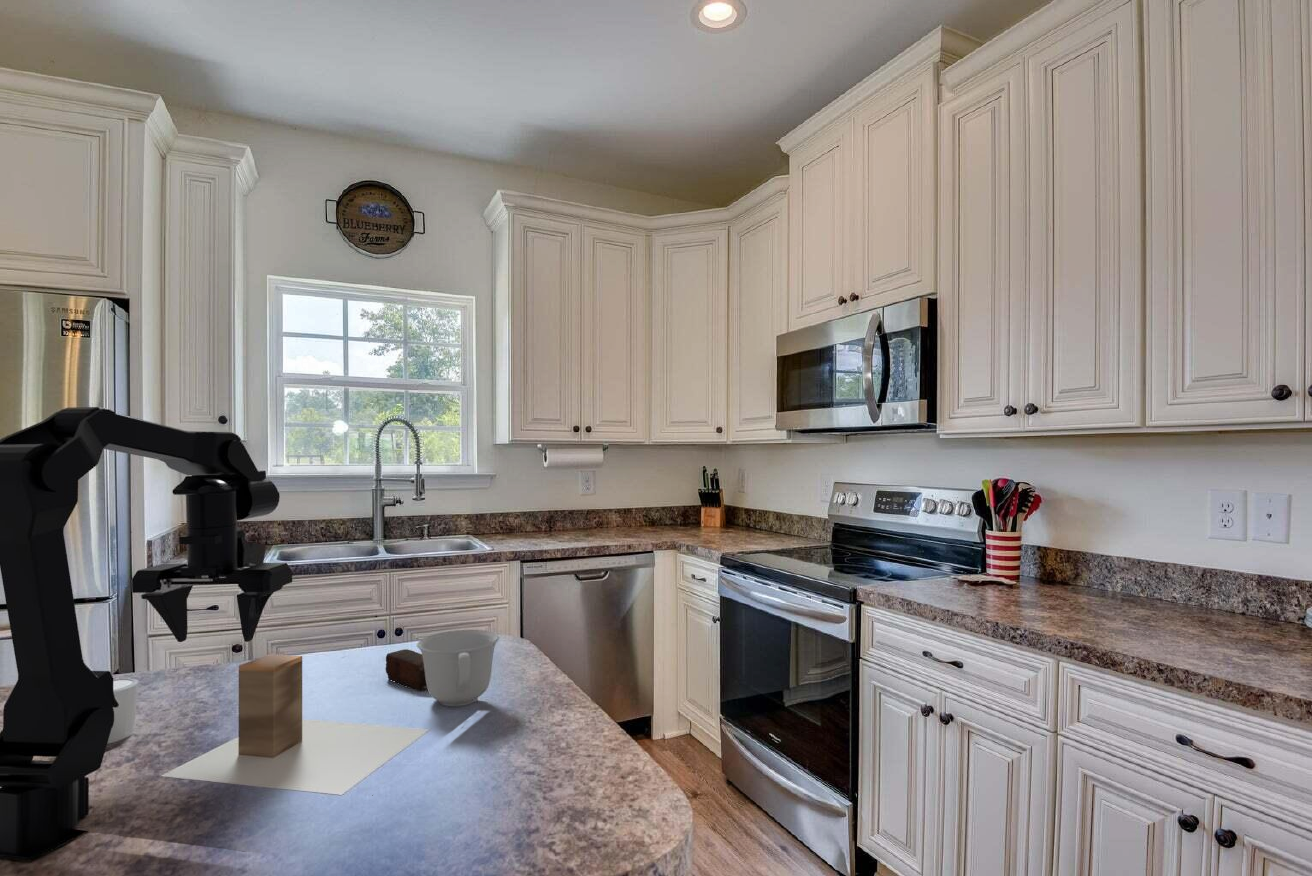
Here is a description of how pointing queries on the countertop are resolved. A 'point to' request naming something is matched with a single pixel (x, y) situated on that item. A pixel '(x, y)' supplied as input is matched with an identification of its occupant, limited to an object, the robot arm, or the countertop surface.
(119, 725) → the white tapered cup
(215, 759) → the cutting board
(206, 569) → the robot arm
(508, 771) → the countertop surface
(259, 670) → the walnut block
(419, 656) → the brick
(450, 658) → the teacup
